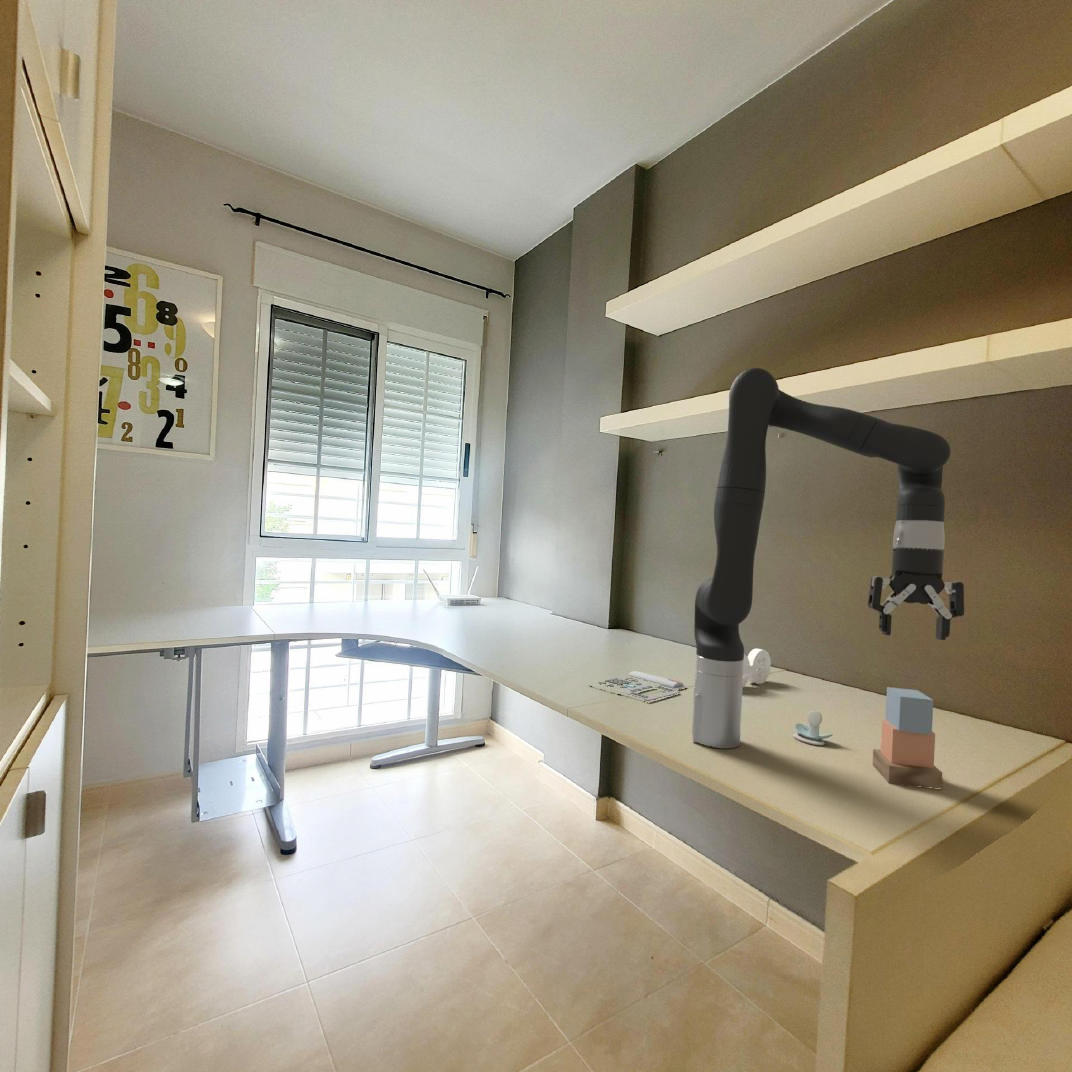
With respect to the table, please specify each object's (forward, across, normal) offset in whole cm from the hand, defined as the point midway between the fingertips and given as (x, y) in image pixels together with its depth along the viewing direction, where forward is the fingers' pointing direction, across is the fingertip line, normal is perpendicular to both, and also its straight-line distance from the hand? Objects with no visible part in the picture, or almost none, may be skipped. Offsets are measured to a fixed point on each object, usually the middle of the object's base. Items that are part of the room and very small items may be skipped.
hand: (912, 637), depth 98 cm
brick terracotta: (+22, 0, 0) cm, 22 cm away
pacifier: (+26, +12, -14) cm, 32 cm away
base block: (+25, 0, 0) cm, 25 cm away
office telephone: (+26, +49, -41) cm, 69 cm away
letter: (+26, +20, -56) cm, 65 cm away
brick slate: (+16, 0, 0) cm, 16 cm away
